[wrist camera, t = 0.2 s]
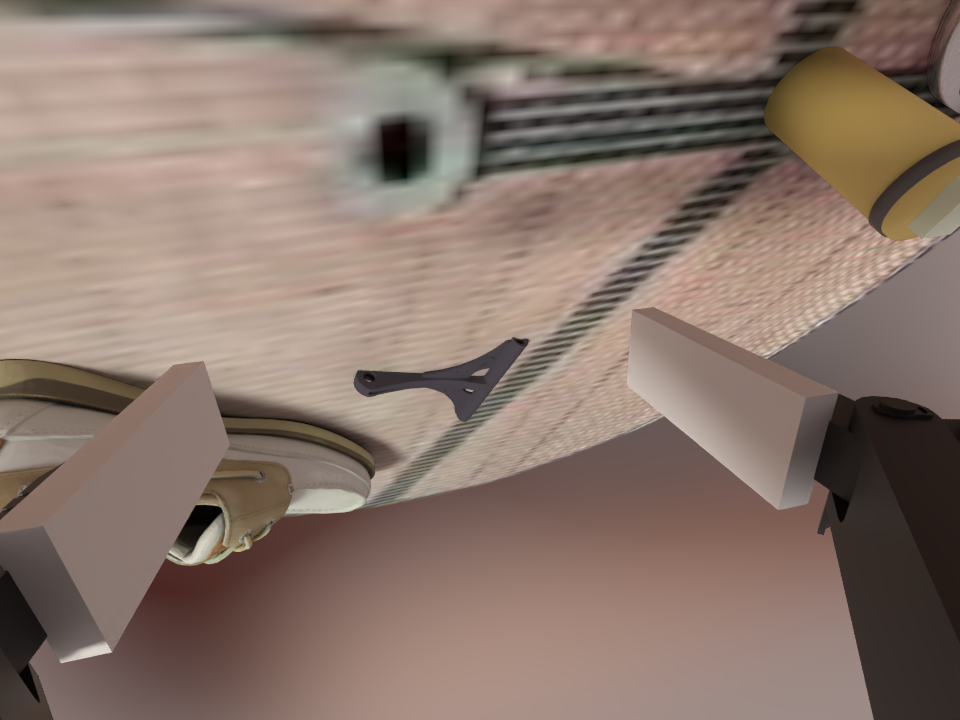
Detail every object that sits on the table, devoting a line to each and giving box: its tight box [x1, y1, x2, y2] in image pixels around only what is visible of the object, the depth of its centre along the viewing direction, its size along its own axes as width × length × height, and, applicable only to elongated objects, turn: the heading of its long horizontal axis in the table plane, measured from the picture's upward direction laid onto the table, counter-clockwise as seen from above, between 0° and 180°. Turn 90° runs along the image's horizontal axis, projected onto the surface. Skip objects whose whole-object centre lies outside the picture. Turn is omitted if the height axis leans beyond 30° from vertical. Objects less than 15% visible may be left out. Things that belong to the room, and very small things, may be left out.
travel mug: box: [764, 47, 960, 241], centre depth 25 cm, size 5×5×12 cm
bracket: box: [354, 337, 528, 422], centre depth 44 cm, size 14×15×3 cm
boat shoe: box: [0, 360, 375, 565], centre depth 41 cm, size 13×36×12 cm, turn 39°
